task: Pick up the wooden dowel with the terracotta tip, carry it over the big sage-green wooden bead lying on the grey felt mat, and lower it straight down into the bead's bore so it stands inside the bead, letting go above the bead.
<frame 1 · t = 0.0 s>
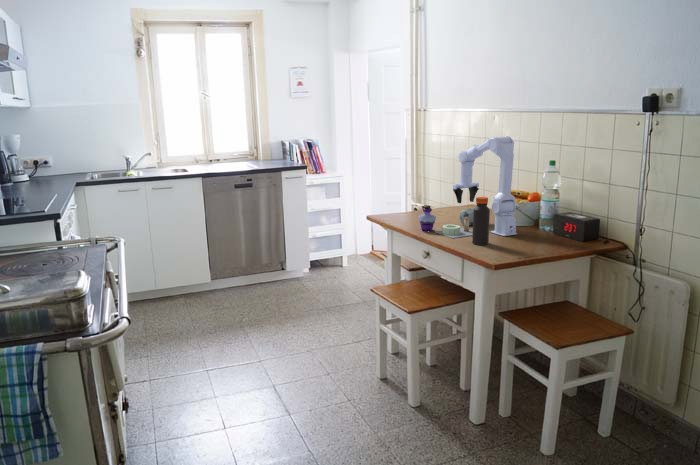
hand: (465, 202, 287), 10 cm above the table, fingers open, 7 cm apart
vinegar: (480, 243, 247), on the table
wooden dowel: (466, 231, 268), resting on mat
bead: (451, 232, 265), resting on mat
potion bottle: (426, 230, 273), on the table
mat: (457, 233, 266), on the table
spool: (472, 224, 284), on the table
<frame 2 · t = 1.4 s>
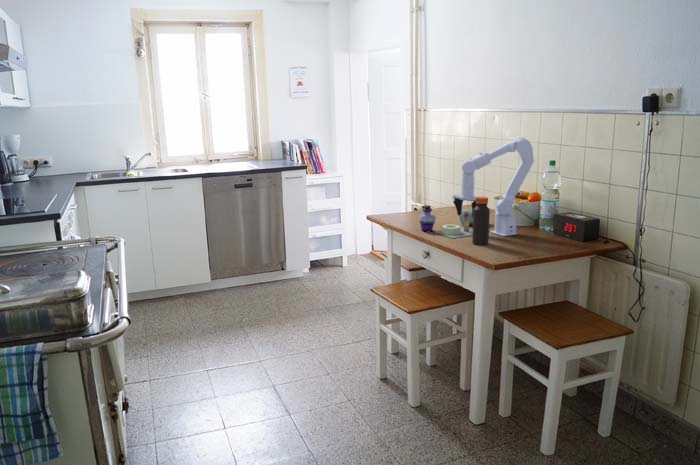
hand: (466, 216, 266), 8 cm above the table, fingers open, 7 cm apart
nothing on the table moved.
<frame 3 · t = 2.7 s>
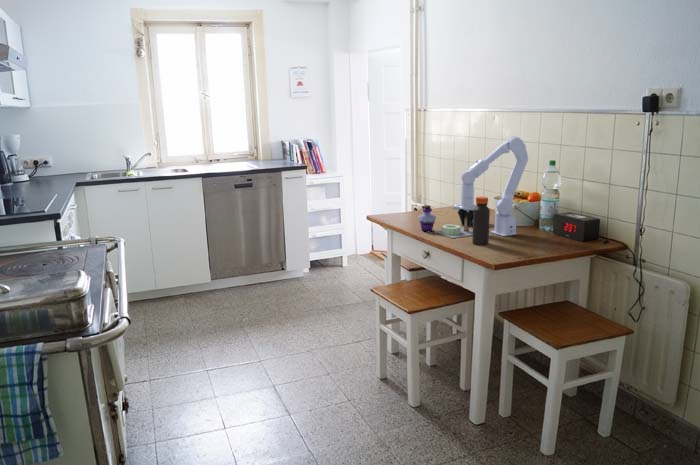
hand: (466, 226, 267), 3 cm above the table, fingers closed on wooden dowel, 2 cm apart
wooden dowel: (466, 231, 268), resting on mat, touching gripper
everything else where it was.
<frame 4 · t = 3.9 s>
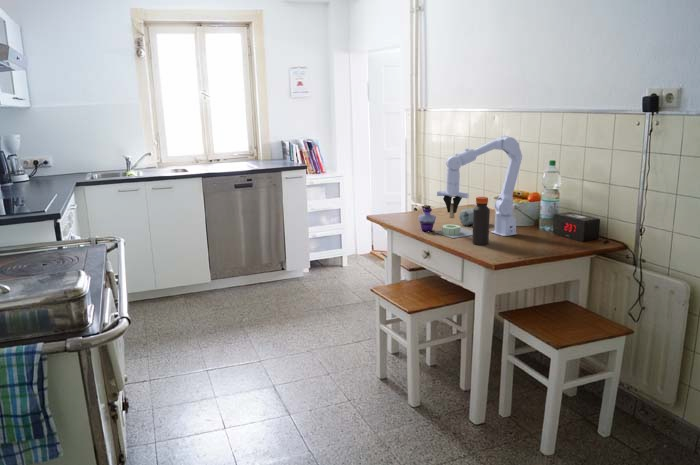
hand: (452, 212, 263), 10 cm above the table, fingers closed on wooden dowel, 2 cm apart
wooden dowel: (451, 217, 264), point 7 cm above the table, touching gripper
everything else where it was.
when the fingers open (4 cm above the table, at t = 5.1 s): wooden dowel drops 1 cm, resting on mat.
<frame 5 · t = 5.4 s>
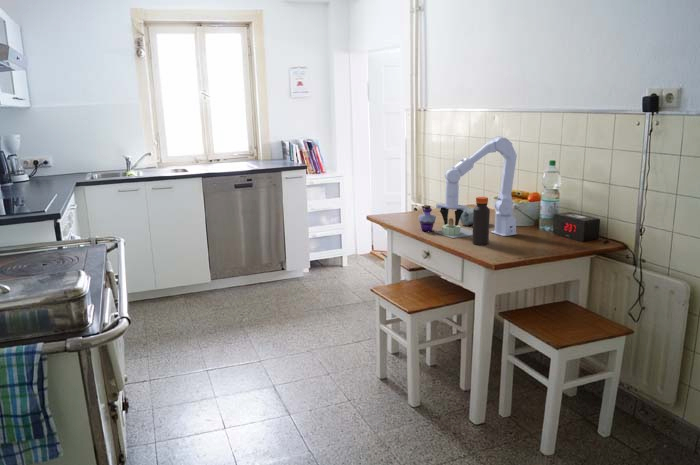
hand: (451, 224, 265), 4 cm above the table, fingers open, 5 cm apart
wooden dowel: (451, 232, 266), resting on mat
everything else where it was.
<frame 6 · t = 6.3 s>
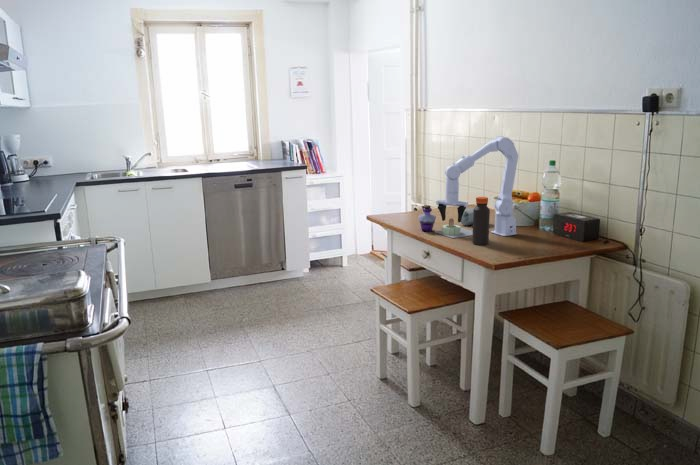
hand: (451, 221, 264), 6 cm above the table, fingers open, 7 cm apart
nothing on the table moved.
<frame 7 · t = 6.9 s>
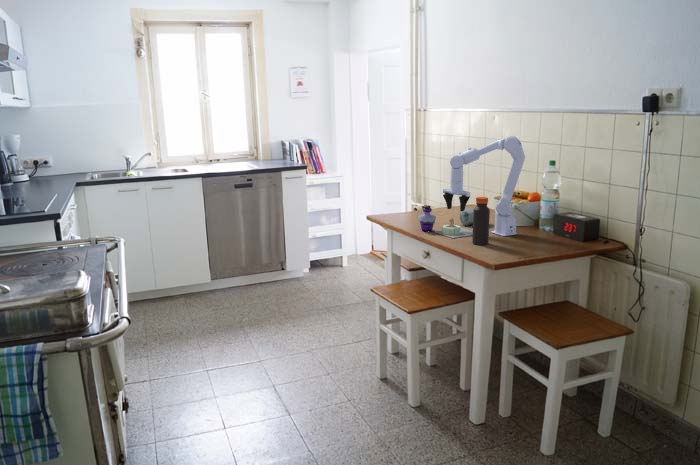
hand: (455, 209, 270), 10 cm above the table, fingers open, 7 cm apart
nothing on the table moved.
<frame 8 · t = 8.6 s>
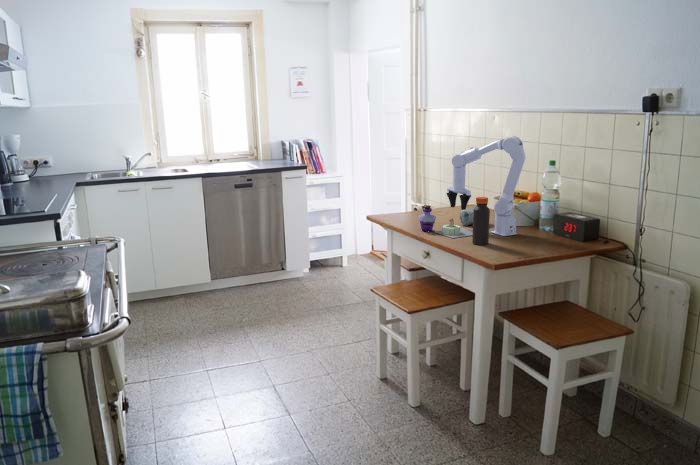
hand: (458, 208, 273), 10 cm above the table, fingers open, 7 cm apart
nothing on the table moved.
at the end: wooden dowel 0.0 cm off-centre on the bead, point 0.0 cm above the bead's base; wooden dowel tilted 0°; the gripper is holding nothing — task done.
